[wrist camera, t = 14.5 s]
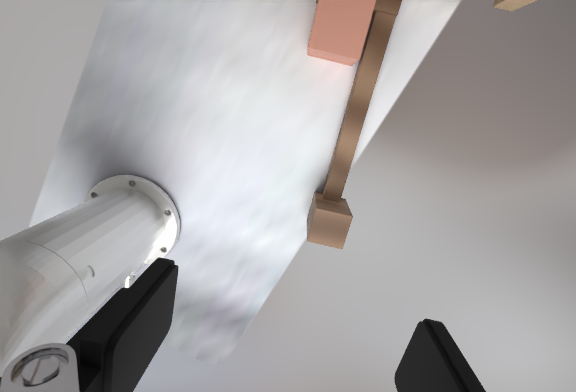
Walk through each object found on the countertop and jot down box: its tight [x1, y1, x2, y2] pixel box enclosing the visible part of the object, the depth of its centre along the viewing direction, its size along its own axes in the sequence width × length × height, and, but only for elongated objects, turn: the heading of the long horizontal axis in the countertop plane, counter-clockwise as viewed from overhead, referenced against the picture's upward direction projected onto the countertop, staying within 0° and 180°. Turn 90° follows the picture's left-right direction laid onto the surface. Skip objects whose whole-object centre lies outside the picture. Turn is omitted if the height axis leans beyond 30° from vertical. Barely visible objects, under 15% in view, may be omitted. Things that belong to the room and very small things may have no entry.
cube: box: [307, 0, 376, 66], centre depth 29 cm, size 5×5×5 cm
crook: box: [307, 0, 402, 249], centre depth 31 cm, size 26×9×6 cm, turn 167°
